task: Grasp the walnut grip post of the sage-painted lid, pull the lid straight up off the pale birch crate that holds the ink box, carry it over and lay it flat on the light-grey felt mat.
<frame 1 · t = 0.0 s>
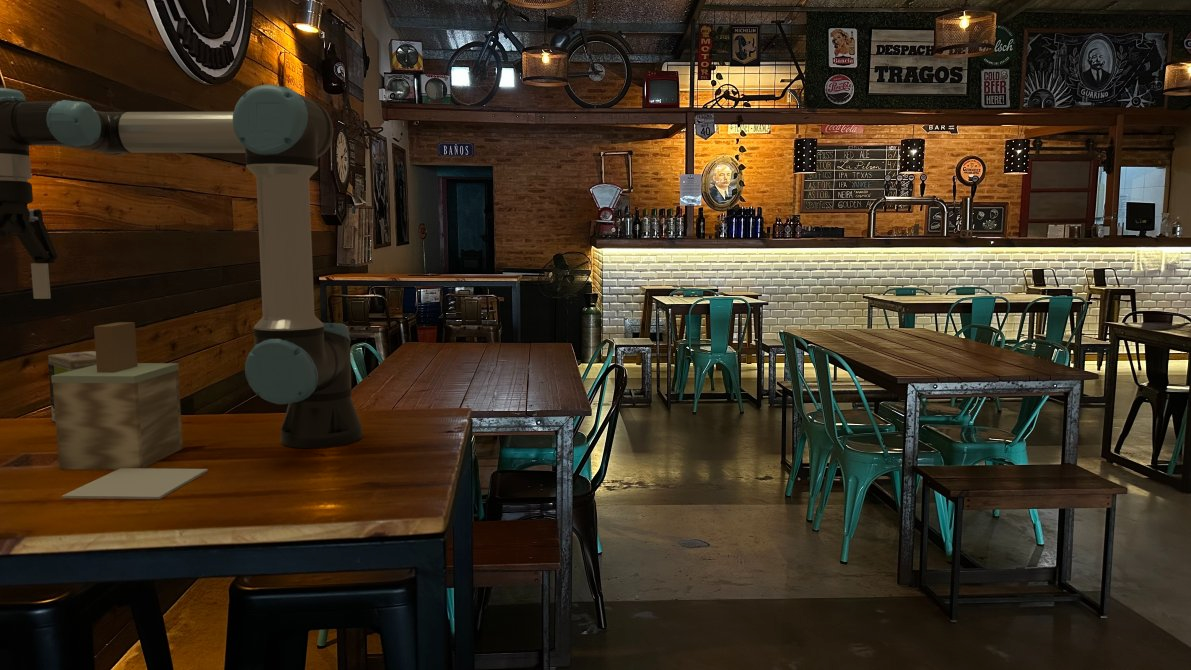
hand: (15, 301, 147), 28 cm above the table, fingers open, 13 cm apart
lid: (118, 375, 146), point 15 cm above the table, touching crate
mat: (138, 484, 133), on the table
ink box: (124, 459, 148), resting in crate
crate: (123, 458, 148), on the table
tea box: (89, 423, 176), on the table
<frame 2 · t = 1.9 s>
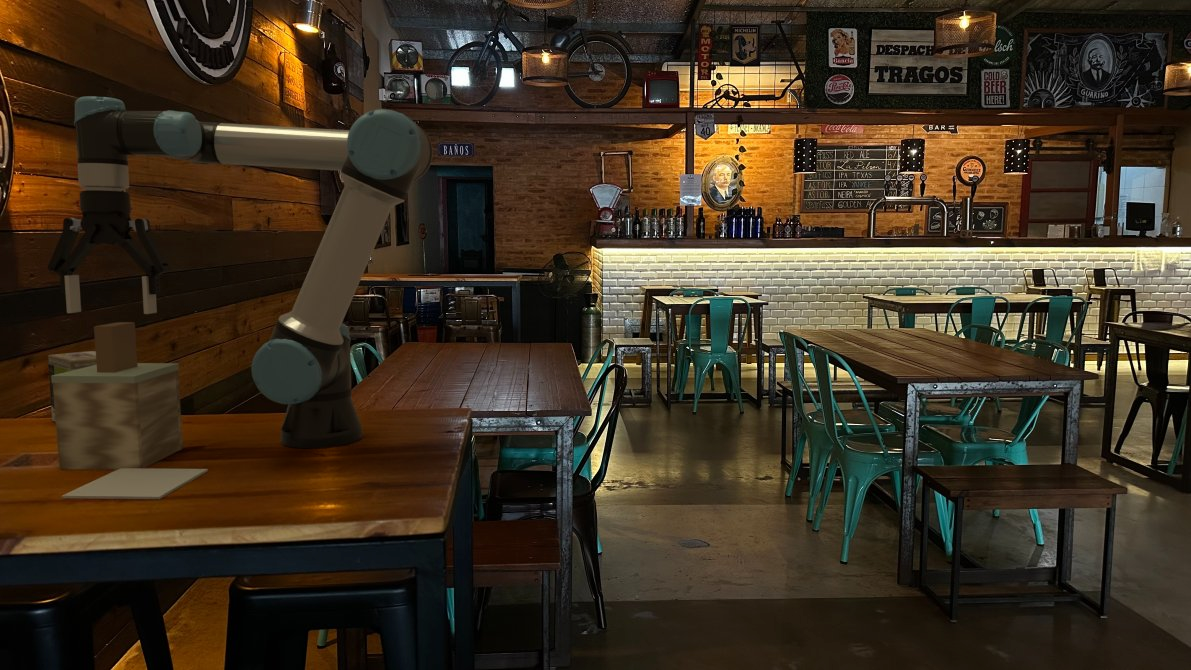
hand: (112, 313, 145), 26 cm above the table, fingers open, 13 cm apart
nothing on the table moved.
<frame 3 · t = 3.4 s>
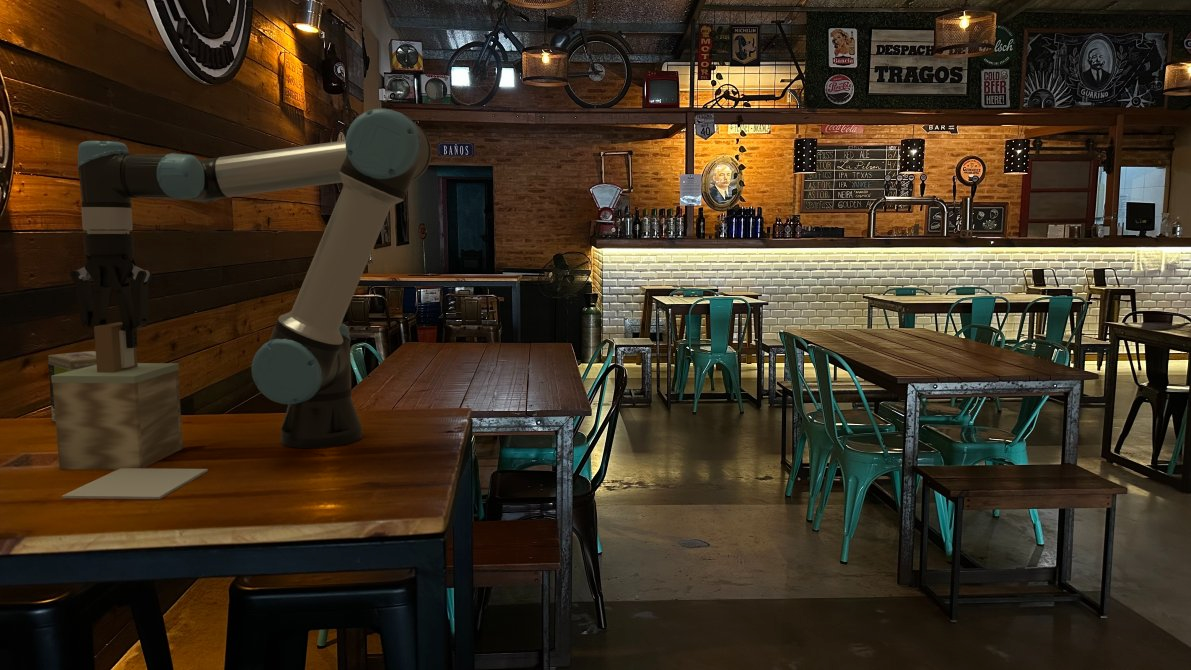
hand: (117, 366, 146), 17 cm above the table, fingers closed on lid, 3 cm apart
lid: (118, 375, 146), point 15 cm above the table, touching crate, gripper
everything else where it was.
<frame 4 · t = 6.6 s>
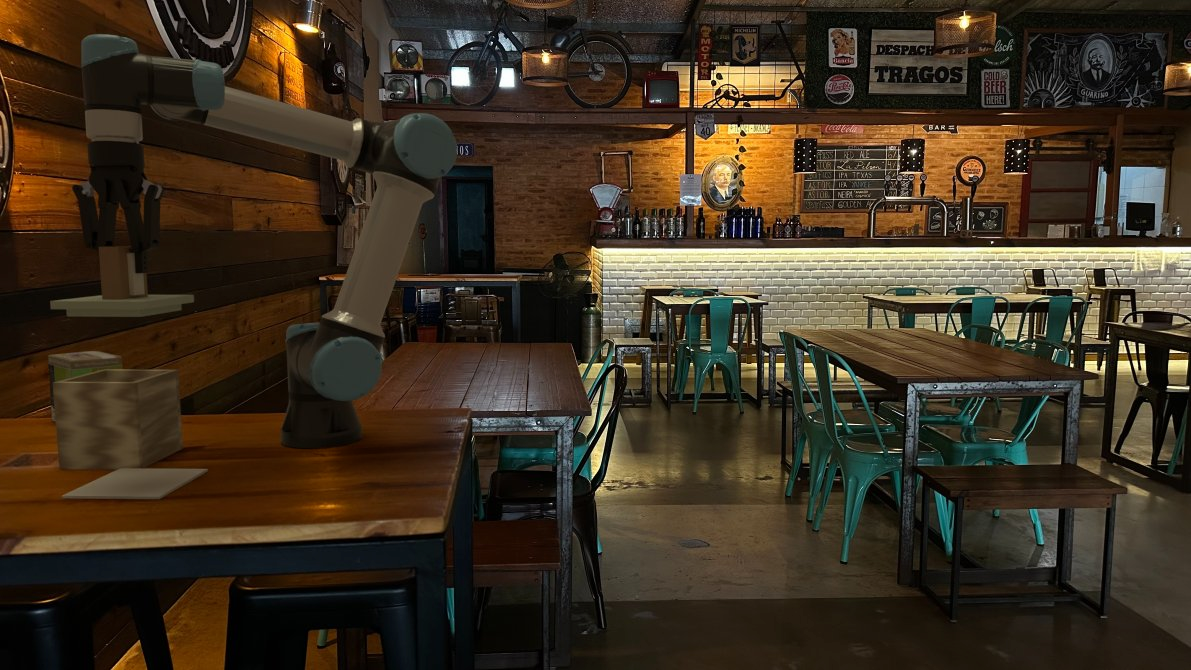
hand: (125, 294, 129), 31 cm above the table, fingers closed on lid, 3 cm apart
lid: (126, 305, 129), point 29 cm above the table, touching gripper
everything else where it was.
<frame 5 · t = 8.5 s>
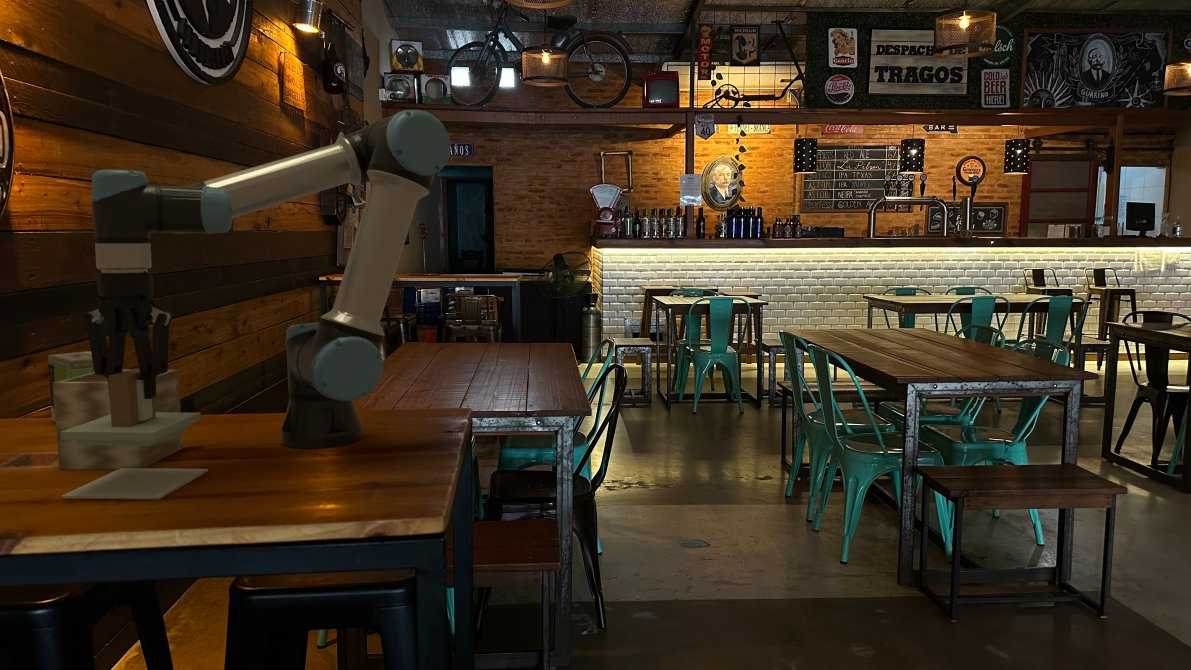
hand: (134, 418, 131), 11 cm above the table, fingers closed on lid, 3 cm apart
lid: (134, 429, 131), point 9 cm above the table, touching gripper
everything else where it was.
when the fingers open (5 cm above the table, at t = 9.8 s): lid drops 1 cm, resting on mat.
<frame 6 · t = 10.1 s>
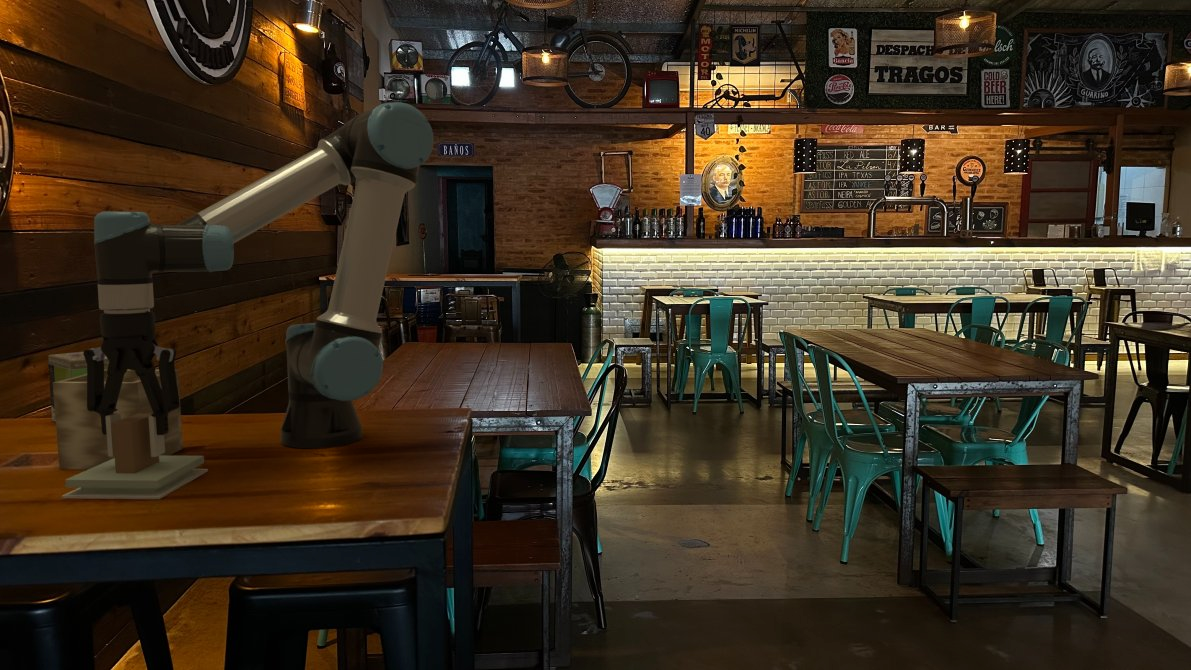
hand: (136, 454, 132), 5 cm above the table, fingers open, 6 cm apart
lid: (138, 474, 132), point 2 cm above the table, touching mat
everything else where it was.
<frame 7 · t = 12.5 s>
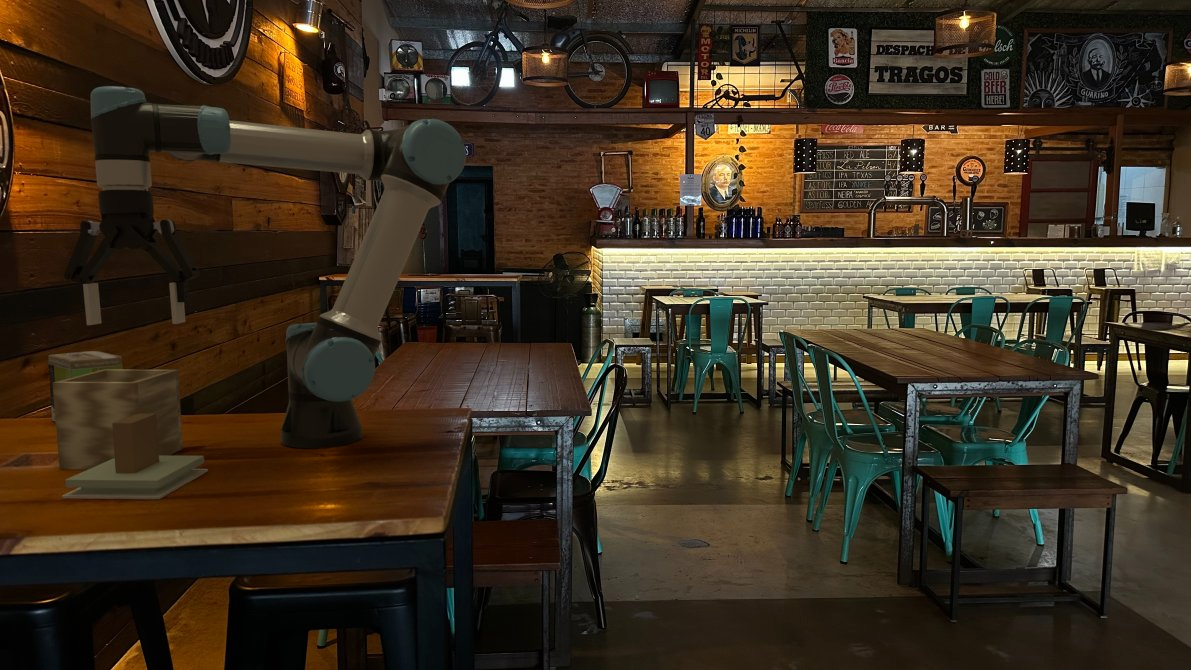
hand: (136, 323, 132), 26 cm above the table, fingers open, 13 cm apart
nothing on the table moved.
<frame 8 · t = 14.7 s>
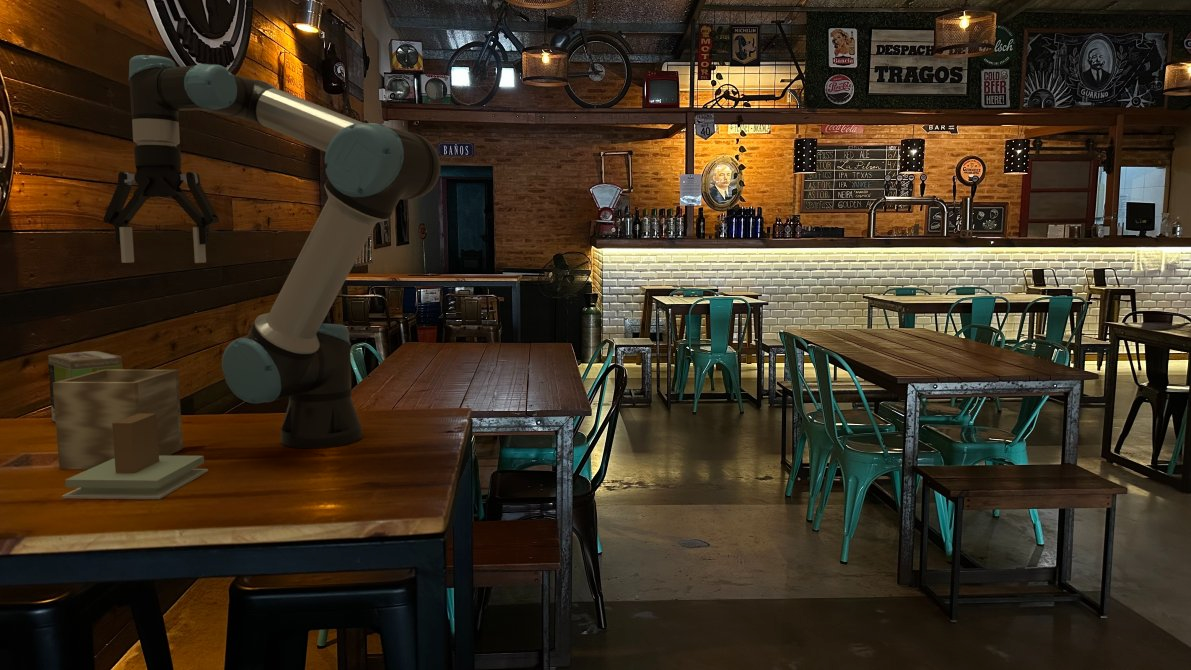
hand: (164, 262, 152), 35 cm above the table, fingers open, 13 cm apart
nothing on the table moved.
at the end: lid inside the target area on the mat (0.1 cm from its centre), point 1.6 cm above the mat's base; lid tilted 0°; the gripper is holding nothing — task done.
